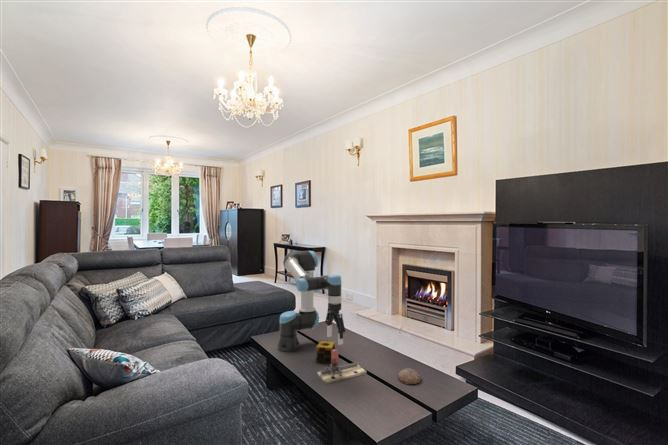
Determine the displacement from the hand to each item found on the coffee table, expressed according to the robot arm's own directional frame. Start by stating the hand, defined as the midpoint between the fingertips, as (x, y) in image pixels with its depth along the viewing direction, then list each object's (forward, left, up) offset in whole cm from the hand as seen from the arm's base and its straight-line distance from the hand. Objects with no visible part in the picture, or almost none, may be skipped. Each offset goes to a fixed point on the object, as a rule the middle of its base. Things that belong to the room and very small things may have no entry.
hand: (334, 340), depth 182 cm
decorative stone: (+25, +33, -19) cm, 45 cm away
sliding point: (+3, 0, -17) cm, 17 cm away
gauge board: (+3, +3, -19) cm, 19 cm away
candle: (-17, +3, -19) cm, 26 cm away
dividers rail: (+3, +3, -17) cm, 18 cm away
